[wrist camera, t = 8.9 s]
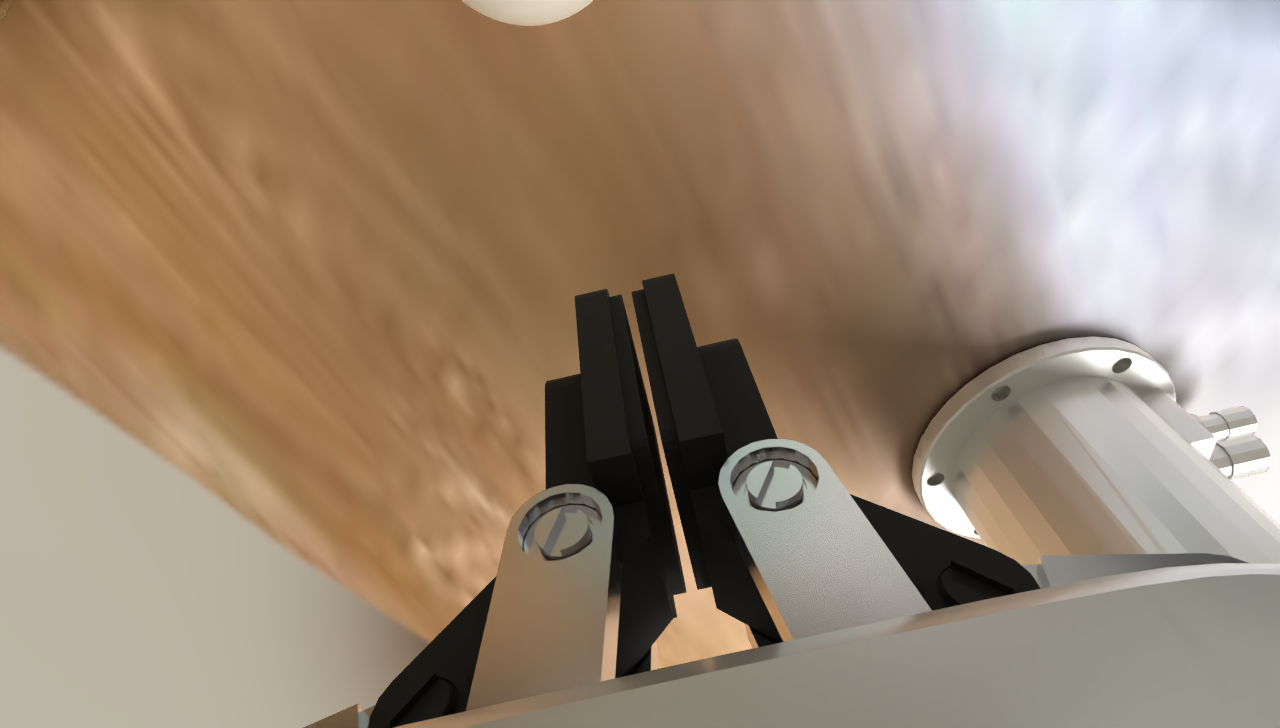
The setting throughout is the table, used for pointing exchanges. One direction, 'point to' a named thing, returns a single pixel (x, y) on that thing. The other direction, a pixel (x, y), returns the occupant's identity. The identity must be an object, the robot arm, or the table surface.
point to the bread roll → (4, 7)
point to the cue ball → (527, 10)
